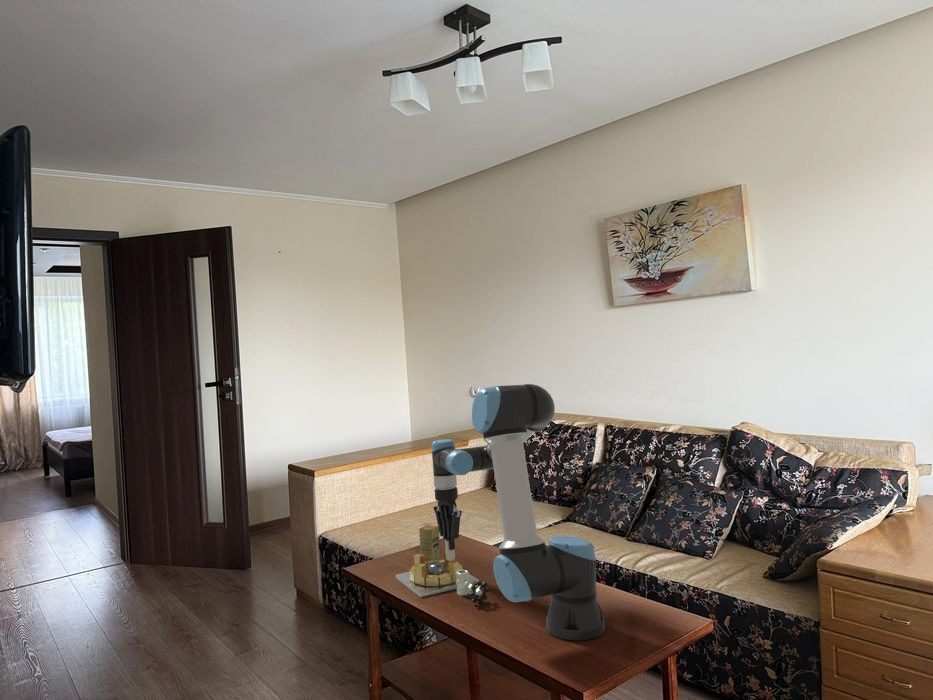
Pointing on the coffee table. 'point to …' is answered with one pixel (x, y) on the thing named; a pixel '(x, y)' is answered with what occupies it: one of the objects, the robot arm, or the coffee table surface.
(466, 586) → the valve
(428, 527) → the shoe polish box
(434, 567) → the hub plate
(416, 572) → the tan toothed ring
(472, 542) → the coffee table surface
